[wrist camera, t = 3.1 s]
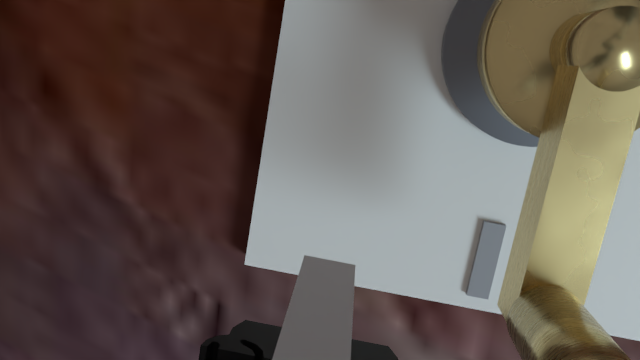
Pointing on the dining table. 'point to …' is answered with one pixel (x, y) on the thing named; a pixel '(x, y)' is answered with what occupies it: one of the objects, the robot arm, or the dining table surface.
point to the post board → (410, 161)
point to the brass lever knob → (563, 157)
